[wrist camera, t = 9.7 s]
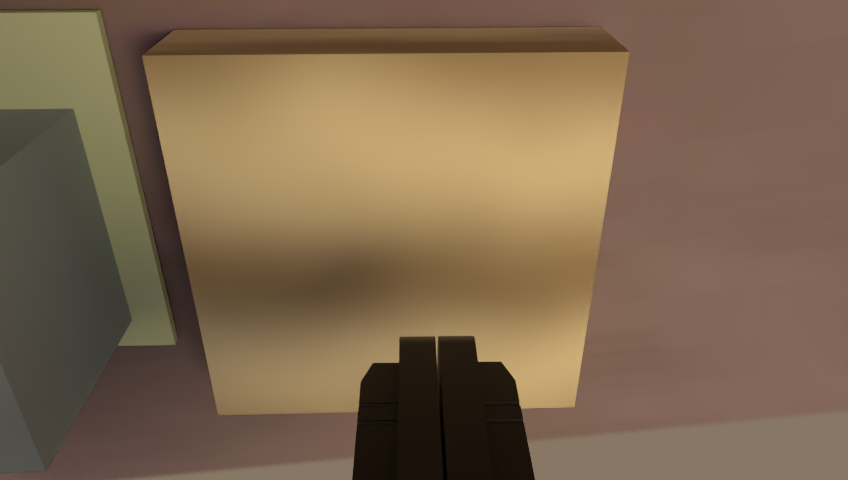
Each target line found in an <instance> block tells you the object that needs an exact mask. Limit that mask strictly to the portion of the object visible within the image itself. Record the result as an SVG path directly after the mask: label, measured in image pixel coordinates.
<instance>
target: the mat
mask: <svg viewBox="0 0 848 480" xmlns="http://www.w3.org/2000/svg"><path fill="white" fill-rule="evenodd" d="M0 109H74V112H75V116H76V119H77V123H78V127H79V130H80V134H81V137H82V141H83V145H84V148H85V152H86V156H87V159H88V163H89V166H90V170H91V174H92V177H93V181H94V184H95V188H96V192H97V195H98V199H99V202H100V206H101V210H102V213H103V217H104V220H105V224H106V228H107V231H108V235H109V239H110V242H111V246H112V249H113V253H114V257H115V260H116V264H117V267H118V271H119V275H120V278H121V282H122V285H123V289H124V293H125V296H126V300H127V303H128V307H129V311H130V314H131V318H132V321H131V323H130V325H129V326H128V328H127V330H126V332H125V334H124V335H123V337H122V339H121V341H120V342H119V344H118V346H144V345H176V342H177V340H178V337H177V333H176V328H175V324H174V320H173V316H172V312H171V307H170V303H169V299H168V295H167V290H166V286H165V282H164V278H163V273H162V269H161V265H160V261H159V256H158V252H157V248H156V244H155V239H154V235H153V231H152V227H151V222H150V218H149V214H148V210H147V205H146V201H145V197H144V193H143V188H142V184H141V180H140V176H139V172H138V167H137V163H136V159H135V155H134V150H133V146H132V142H131V138H130V133H129V129H128V125H127V121H126V116H125V112H124V108H123V104H122V99H121V95H120V91H119V87H118V82H117V78H116V74H115V70H114V65H113V61H112V57H111V53H110V48H109V44H108V40H107V36H106V32H105V27H104V23H103V19H102V15H101V10H0Z"/></svg>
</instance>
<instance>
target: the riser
mask: <svg viewBox="0 0 848 480" xmlns="http://www.w3.org/2000/svg"><path fill="white" fill-rule="evenodd" d="M629 53H630V52H629V51H628V50H627V49H626V48H625V47H624V46H622V45H621V44H620V43H619V42H618V41H617V40H616V39H614V38H613V37H612V36H611V35H610V34H609V33H608V32H606V31H605V30H604V29H603V28H602V27H499V28H347V29H195V30H173V31H172V32H171V33H170V34H168V35H167V36H166V37H165V38H163V39H162V40H161V41H160V42H158V43H157V44H156V45H155V46H153V47H152V48H151V49H150V50H148V51H147V52H146V53H145V54H143V55H142V58H143V63H144V68H145V73H146V77H147V82H148V87H149V91H150V96H151V101H152V106H153V110H154V115H155V120H156V124H157V129H158V134H159V138H160V143H161V148H162V153H163V157H164V162H165V167H166V171H167V176H168V181H169V186H170V190H171V195H172V200H173V204H174V209H175V214H176V218H177V223H178V228H179V233H180V237H181V242H182V247H183V251H184V256H185V261H186V266H187V270H188V275H189V280H190V284H191V289H192V294H193V298H194V303H195V308H196V313H197V317H198V322H199V327H200V331H201V336H202V341H203V346H204V350H205V355H206V360H207V364H208V369H209V374H210V378H211V383H212V388H213V393H214V397H215V402H216V407H217V411H218V415H249V414H292V413H336V412H358V408H359V397H360V385H361V381H362V379H363V377H364V376H365V374H366V373H367V371H368V370H369V368H370V367H371V365H372V364H373V363H399V338H400V337H409V336H435V339H436V357H437V349H438V336H474V337H475V343H476V351H477V358H478V362H502V363H503V365H504V366H505V367H506V369H507V370H508V371H509V372H510V374H511V375H512V376H513V378H514V379H515V381H516V386H517V391H518V396H519V404H520V406H521V408H555V407H574V406H575V400H576V393H577V387H578V380H579V374H580V367H581V361H582V355H583V348H584V342H585V335H586V329H587V323H588V316H589V310H590V303H591V297H592V291H593V284H594V278H595V271H596V265H597V258H598V252H599V246H600V239H601V233H602V226H603V220H604V214H605V207H606V201H607V194H608V188H609V181H610V175H611V169H612V162H613V156H614V149H615V143H616V137H617V130H618V124H619V117H620V111H621V105H622V98H623V92H624V85H625V79H626V72H627V66H628V60H629Z"/></svg>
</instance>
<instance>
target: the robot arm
mask: <svg viewBox="0 0 848 480" xmlns="http://www.w3.org/2000/svg"><path fill="white" fill-rule="evenodd" d="M352 480H535V478H534V473H533V468H532V463H531V457H530V452H529V447H528V442H527V437H526V432H525V427H524V423H523V417H522V412H521V406H520V404H519V396H518V391H517V386H516V381H515V379H514V378H513V376H512V375H511V374H510V372H509V371H508V370H507V369H506V367H505V366H504V365H503V363H502V362H478V358H477V351H476V343H475V337H474V336H438V349H437V357H436V339H435V336H409V337H400V338H399V363H373V364H372V365H371V367H370V368H369V370H368V371H367V373H366V374H365V376H364V377H363V379H362V381H361V385H360V397H359V408H358V420H357V432H356V443H355V455H354V467H353V479H352Z"/></svg>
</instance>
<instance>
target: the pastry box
mask: <svg viewBox="0 0 848 480" xmlns="http://www.w3.org/2000/svg"><path fill="white" fill-rule="evenodd" d="M131 321H132V318H131V314H130V311H129V307H128V303H127V300H126V296H125V293H124V289H123V285H122V282H121V278H120V275H119V271H118V267H117V264H116V260H115V257H114V253H113V249H112V246H111V242H110V239H109V235H108V231H107V228H106V224H105V220H104V217H103V213H102V210H101V206H100V202H99V199H98V195H97V192H96V188H95V184H94V181H93V177H92V174H91V170H90V166H89V163H88V159H87V156H86V152H85V148H84V145H83V141H82V137H81V134H80V130H79V127H78V123H77V119H76V116H75V112H74V109H0V473H14V472H46V471H47V469H48V467H49V465H50V464H51V462H52V460H53V458H54V457H55V455H56V453H57V451H58V450H59V448H60V446H61V444H62V443H63V441H64V439H65V437H66V435H67V434H68V432H69V430H70V428H71V427H72V425H73V423H74V421H75V420H76V418H77V416H78V414H79V413H80V411H81V409H82V407H83V406H84V404H85V402H86V400H87V399H88V397H89V395H90V393H91V392H92V390H93V388H94V386H95V384H96V383H97V381H98V379H99V377H100V376H101V374H102V372H103V370H104V369H105V367H106V365H107V363H108V362H109V360H110V358H111V356H112V355H113V353H114V351H115V349H116V348H117V346H118V344H119V342H120V341H121V339H122V337H123V335H124V334H125V332H126V330H127V328H128V326H129V325H130V323H131Z"/></svg>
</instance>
